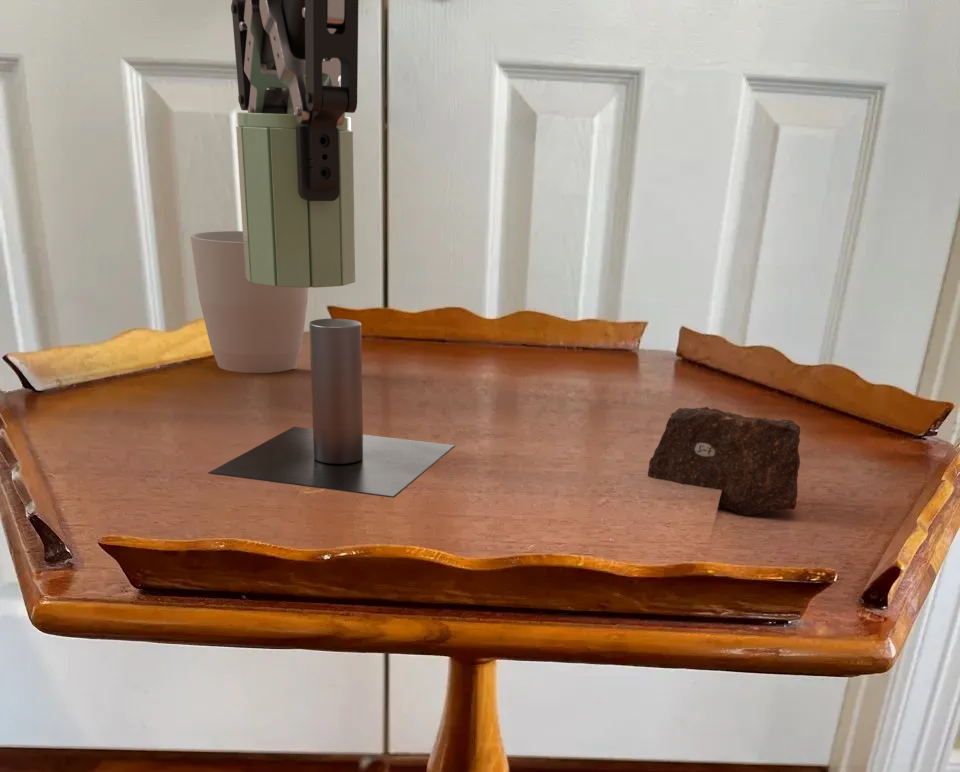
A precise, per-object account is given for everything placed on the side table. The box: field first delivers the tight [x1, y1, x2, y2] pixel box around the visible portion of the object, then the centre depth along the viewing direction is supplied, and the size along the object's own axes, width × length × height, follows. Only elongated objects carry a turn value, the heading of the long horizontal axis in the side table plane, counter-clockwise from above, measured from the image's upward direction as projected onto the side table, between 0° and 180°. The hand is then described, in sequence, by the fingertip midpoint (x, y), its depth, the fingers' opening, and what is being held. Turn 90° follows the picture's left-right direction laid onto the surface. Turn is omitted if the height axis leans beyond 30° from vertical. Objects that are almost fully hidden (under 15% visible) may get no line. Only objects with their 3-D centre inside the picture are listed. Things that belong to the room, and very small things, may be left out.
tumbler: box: [235, 112, 356, 289], centre depth 61 cm, size 6×7×9 cm
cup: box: [189, 230, 309, 374], centre depth 74 cm, size 8×8×10 cm
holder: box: [207, 318, 456, 498], centre depth 53 cm, size 10×10×8 cm
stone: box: [647, 406, 801, 516], centre depth 53 cm, size 8×3×5 cm, turn 65°
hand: (297, 195), depth 60 cm, fingers closed on tumbler, 6 cm apart
